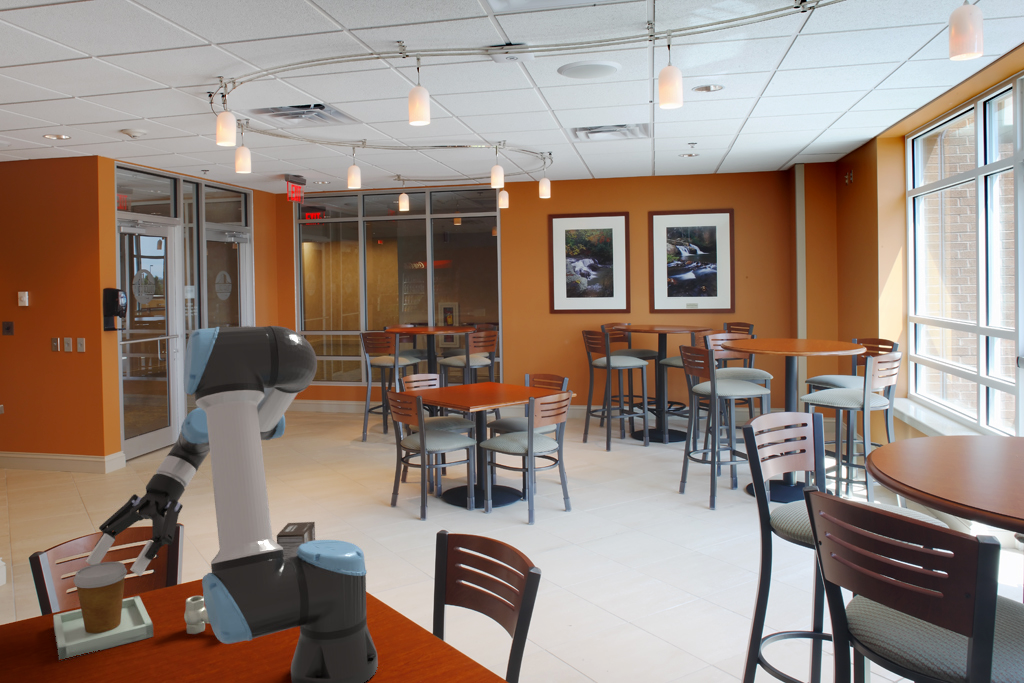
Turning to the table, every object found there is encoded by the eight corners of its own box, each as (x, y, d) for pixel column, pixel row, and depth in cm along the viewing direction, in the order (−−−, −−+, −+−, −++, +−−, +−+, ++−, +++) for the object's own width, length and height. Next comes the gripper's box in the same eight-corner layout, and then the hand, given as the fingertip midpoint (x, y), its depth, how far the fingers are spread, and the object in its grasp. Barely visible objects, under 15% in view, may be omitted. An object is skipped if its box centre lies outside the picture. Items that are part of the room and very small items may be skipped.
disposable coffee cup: (139, 617, 148) (137, 562, 147) (106, 639, 138) (103, 579, 138) (100, 614, 149) (97, 559, 149) (64, 635, 140) (61, 577, 139)
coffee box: (290, 589, 164) (287, 521, 163) (317, 588, 164) (315, 521, 163) (278, 606, 155) (276, 534, 154) (307, 605, 155) (305, 533, 154)
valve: (176, 637, 141) (231, 640, 139) (175, 605, 141) (230, 608, 139) (196, 622, 147) (249, 625, 146) (195, 591, 147) (248, 594, 145)
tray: (153, 636, 141) (152, 624, 141) (59, 661, 132) (58, 648, 132) (139, 606, 156) (139, 595, 156) (53, 626, 146) (53, 615, 146)
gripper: (220, 494, 157) (166, 584, 144) (142, 485, 167) (85, 568, 154) (200, 476, 152) (142, 568, 139) (121, 467, 162) (60, 553, 149)
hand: (112, 568), depth 146 cm, fingers open, 13 cm apart
